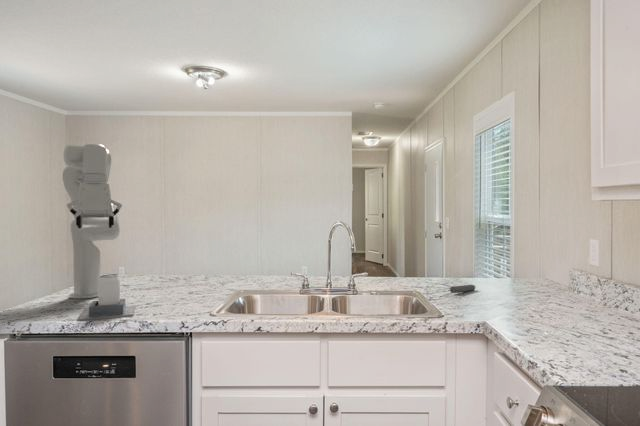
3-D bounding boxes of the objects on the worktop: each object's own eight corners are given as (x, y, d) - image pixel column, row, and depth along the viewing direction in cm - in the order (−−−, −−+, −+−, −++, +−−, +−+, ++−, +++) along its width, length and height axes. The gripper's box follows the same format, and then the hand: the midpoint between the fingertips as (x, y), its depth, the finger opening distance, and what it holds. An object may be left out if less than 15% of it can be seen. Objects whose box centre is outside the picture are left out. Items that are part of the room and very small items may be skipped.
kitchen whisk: (482, 291, 177) (482, 276, 177) (434, 303, 155) (434, 286, 155) (468, 289, 182) (468, 274, 182) (420, 300, 160) (420, 284, 160)
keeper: (84, 311, 145) (84, 300, 145) (135, 306, 151) (135, 296, 151) (76, 320, 132) (76, 309, 132) (133, 315, 138) (132, 304, 138)
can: (124, 309, 145) (123, 274, 145) (113, 313, 138) (112, 277, 138) (106, 309, 145) (105, 273, 145) (94, 313, 139) (93, 276, 139)
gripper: (64, 178, 144) (65, 228, 144) (120, 179, 150) (121, 227, 150) (69, 179, 151) (69, 227, 151) (122, 180, 157) (122, 227, 157)
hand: (95, 227), depth 151 cm, fingers open, 9 cm apart
